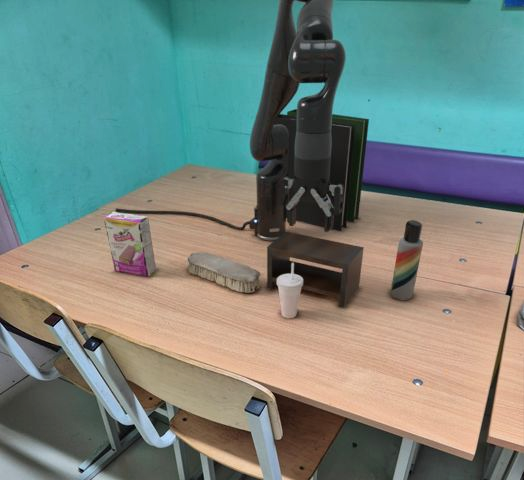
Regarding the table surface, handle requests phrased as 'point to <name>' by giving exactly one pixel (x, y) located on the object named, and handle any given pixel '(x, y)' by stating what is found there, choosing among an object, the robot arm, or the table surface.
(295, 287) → the smoothie
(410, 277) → the lotion bottle
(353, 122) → the binder
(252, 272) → the shoe brush
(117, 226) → the candy bar box
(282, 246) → the box
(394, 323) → the table surface
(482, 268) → the table surface
